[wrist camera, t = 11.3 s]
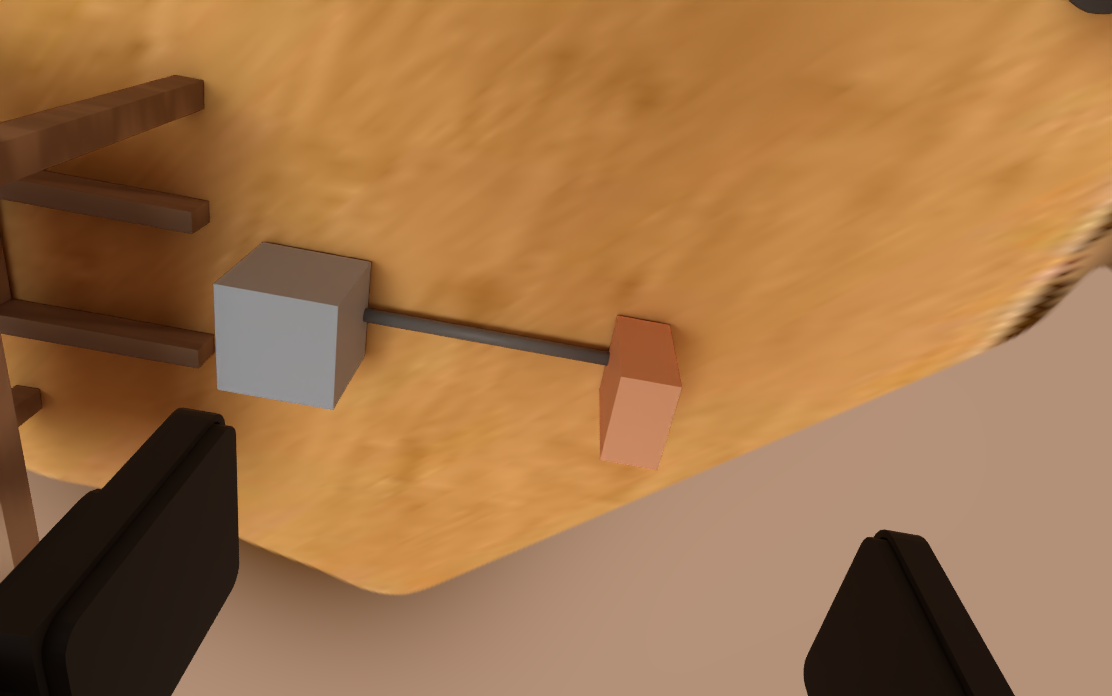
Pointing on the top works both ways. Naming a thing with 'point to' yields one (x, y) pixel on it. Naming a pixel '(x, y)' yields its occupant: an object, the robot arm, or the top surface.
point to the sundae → (1094, 6)
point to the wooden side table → (17, 175)
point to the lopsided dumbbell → (341, 322)
